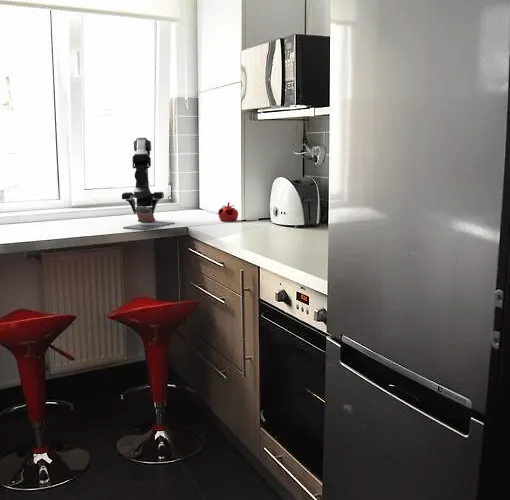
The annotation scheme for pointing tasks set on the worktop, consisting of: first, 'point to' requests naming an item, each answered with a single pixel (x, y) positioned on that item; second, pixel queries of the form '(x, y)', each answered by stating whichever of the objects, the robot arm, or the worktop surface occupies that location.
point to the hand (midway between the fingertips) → (143, 214)
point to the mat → (148, 225)
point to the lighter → (145, 215)
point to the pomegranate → (228, 213)
